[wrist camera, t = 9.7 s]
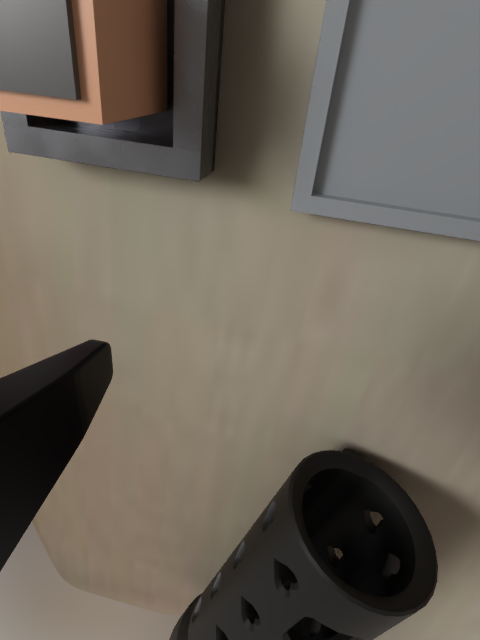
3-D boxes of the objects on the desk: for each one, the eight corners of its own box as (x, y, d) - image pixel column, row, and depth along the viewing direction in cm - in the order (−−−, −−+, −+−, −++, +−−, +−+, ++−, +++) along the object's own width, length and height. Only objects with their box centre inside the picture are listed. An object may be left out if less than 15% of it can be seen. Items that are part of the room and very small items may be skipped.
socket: (230, -89, 15) (213, -117, 12) (214, 169, 19) (199, 181, 17) (3, -107, 16) (-48, -135, 13) (42, 143, 20) (8, 151, 18)
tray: (709, -97, 12) (742, -112, 11) (532, 241, 18) (544, 251, 17) (348, -121, 14) (349, -137, 13) (292, 203, 19) (290, 210, 18)
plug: (167, -20, 16) (81, -69, 10) (167, 110, 18) (98, 125, 13) (59, -30, 16) (-75, -81, 11) (73, 98, 18) (-31, 108, 13)
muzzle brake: (423, 469, 27) (465, 656, 18) (265, 618, 42) (248, 758, 34) (292, 414, 27) (273, 577, 18) (181, 584, 42) (142, 717, 33)
